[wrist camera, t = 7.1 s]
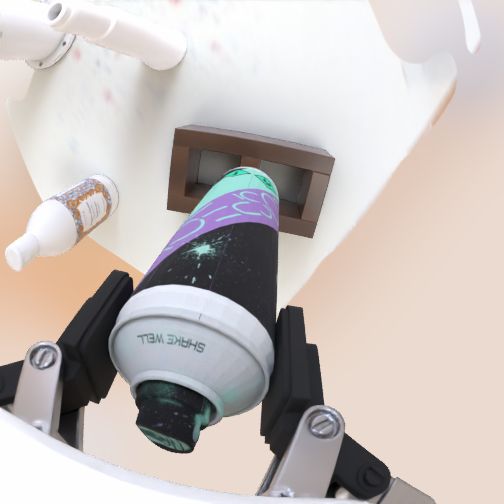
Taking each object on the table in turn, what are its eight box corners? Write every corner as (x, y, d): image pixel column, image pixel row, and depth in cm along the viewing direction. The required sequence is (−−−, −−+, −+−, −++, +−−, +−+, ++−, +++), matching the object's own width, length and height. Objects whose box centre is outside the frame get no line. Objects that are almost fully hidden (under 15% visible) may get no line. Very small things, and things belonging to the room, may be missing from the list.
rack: (190, 124, 34) (174, 128, 29) (326, 150, 34) (335, 158, 29) (181, 194, 39) (166, 209, 33) (307, 219, 39) (312, 238, 34)
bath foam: (123, 215, 41) (42, 291, 23) (88, 216, 41) (7, 285, 24) (116, 171, 37) (21, 228, 20) (80, 175, 38) (-13, 230, 20)
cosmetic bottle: (172, 76, 31) (61, 58, 12) (136, 62, 30) (15, 45, 10) (195, 37, 28) (105, -24, 9) (157, 24, 27) (51, -26, 8)
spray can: (292, 206, 24) (308, 462, 6) (240, 240, 26) (176, 477, 8) (251, 152, 22) (140, 353, 4) (199, 192, 24) (48, 397, 6)
